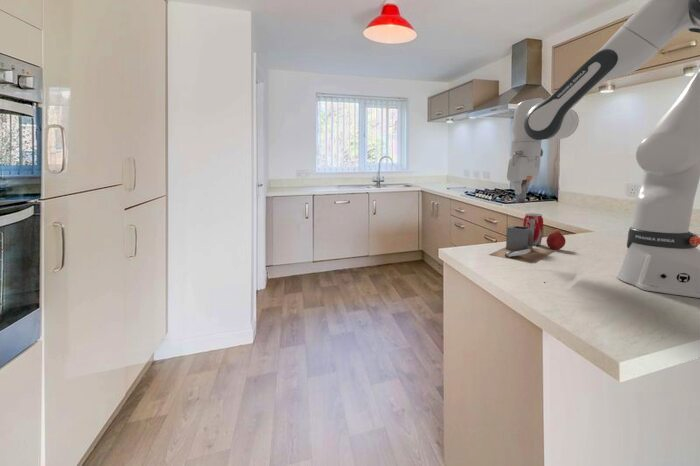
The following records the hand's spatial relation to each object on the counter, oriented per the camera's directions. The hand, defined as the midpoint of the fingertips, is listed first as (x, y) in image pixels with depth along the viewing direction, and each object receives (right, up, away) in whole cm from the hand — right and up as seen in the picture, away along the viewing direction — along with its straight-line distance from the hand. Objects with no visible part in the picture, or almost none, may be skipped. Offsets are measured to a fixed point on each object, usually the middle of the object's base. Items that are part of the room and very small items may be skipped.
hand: (521, 193), depth 116 cm
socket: (+3, -20, +9) cm, 22 cm away
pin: (0, -3, +1) cm, 3 cm away
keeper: (-2, -20, -2) cm, 21 cm away
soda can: (+14, -18, +20) cm, 31 cm away
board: (+2, -21, +4) cm, 22 cm away
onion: (+17, -20, +9) cm, 28 cm away
